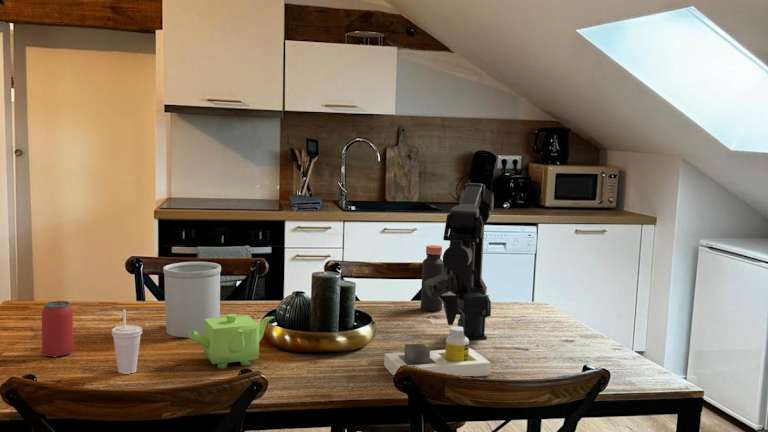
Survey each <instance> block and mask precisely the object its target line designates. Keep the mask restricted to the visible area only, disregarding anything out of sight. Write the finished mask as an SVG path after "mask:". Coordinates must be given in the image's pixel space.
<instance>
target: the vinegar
mask: <svg viewBox="0 0 768 432" xmlns="http://www.w3.org/2000/svg"><path fill="white" fill-rule="evenodd" d="M442 251H443V247H442V246H441V245H436V244H435V245H434V244H432V245H429V244H428V245H426V246H425V255H426V258H424V260H423V261H422V265H421V267H422V268H421V269H422V271H421V288H420V290H421V293H420V309H421V310H422V311H424V312H433V313H435V312H441V311H442V310H443V302H442V301H441V300H440V299H439V298H438V297H437V298H432V297H431V296H430V295H427V292H426V288H425V285H424V281H426V280H429V279H431V278H434V277H436V276H439V275H442V274H444V272H445V265H444V263H443V258H441V257H442V254H443V253H442Z"/></svg>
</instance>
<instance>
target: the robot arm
mask: <svg viewBox="0 0 768 432" xmlns="http://www.w3.org/2000/svg"><path fill="white" fill-rule="evenodd" d="M494 203H495V198H494V192H493V191H491V190H490V189H488V188H486V185H485V184H483V183H477V182H476V183H475V182H468V183H464V187H463V189H461V190H460V197H459V205H455V206H453V207H452V208H451V210H450V211H449V213H447V215H446V219H445V220H446V221H445V226H444V232H443V233H444V234H443V238H442V239H443V241H445V242H447V241H449V247H447V248H446V250H445V251H444V252H443V253H442V254H443V255H442V261H443V263H444V274H442V275H439V276H436V277H434V278H431V279H429V280H426V281H424V285H425V288H426V292H427V295H430V296H431V297H432V298H437V297H438V298H439V299H440V300H441V301H442V306H443V308H444V309H443V310H444V313H445V317H446V321H447V325H448V326H453V324H454V323H455V320H456V318H457V316H458V315H459V318H457V326H460V327H463V331H464V336H466V337H467V338H468V339H469V341H470V340H483V339H484V340H486V339H488V336H486V335H485V330H486V318H487V319H488V318H489V317H491V316H492V315H491V314H492V313H491V312H492V300H491V299H490V296H489V295H488V294H487V292H488V291H487V290H488V287H487V286H486V284H485V282H484V280H483V278H482V275H483V255H484V238H485V237H484V236H485V233H484V232H485V224H486V223H487V222H488V220H489V219H490V217H491V215H492V212H493V211H494V205H495V204H494Z"/></svg>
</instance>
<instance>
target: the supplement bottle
mask: <svg viewBox="0 0 768 432" xmlns="http://www.w3.org/2000/svg"><path fill="white" fill-rule="evenodd" d="M469 348H470V340H469V339H468V338H467V337H466V336H464V331H463V327H460V326H458V325H457V326H456V325H454V326H453V325H452V326H450V327H449V335H448V336H447V337H446V339H445V349H444V350H445V360H447V361H448V362H463V361H468V353H469Z"/></svg>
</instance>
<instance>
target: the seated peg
mask: <svg viewBox="0 0 768 432" xmlns="http://www.w3.org/2000/svg"><path fill="white" fill-rule="evenodd" d="M430 351H431V348H429V347H428V346H427V345H426V344H424V343H412V344H411V343H410V344H408V343H407V344H404V352H405V355H404V362H405V363H406V364H407V365H419V364H429V363H430Z"/></svg>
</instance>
